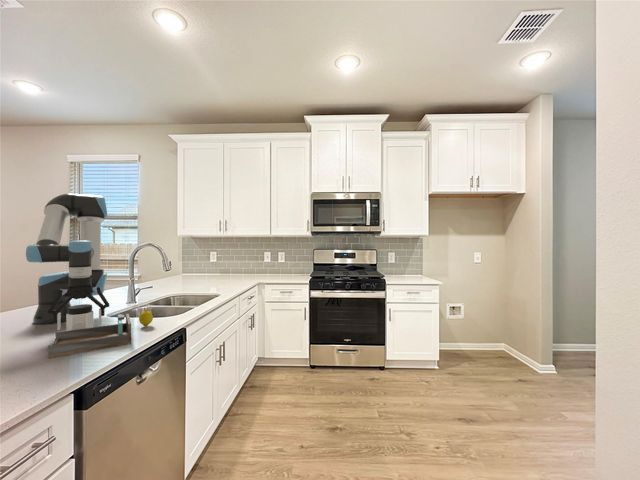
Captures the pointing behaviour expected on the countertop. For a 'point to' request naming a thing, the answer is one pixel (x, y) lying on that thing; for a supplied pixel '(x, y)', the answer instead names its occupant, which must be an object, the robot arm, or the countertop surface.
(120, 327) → the panel
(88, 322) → the jar
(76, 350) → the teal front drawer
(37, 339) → the countertop surface
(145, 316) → the fruit
